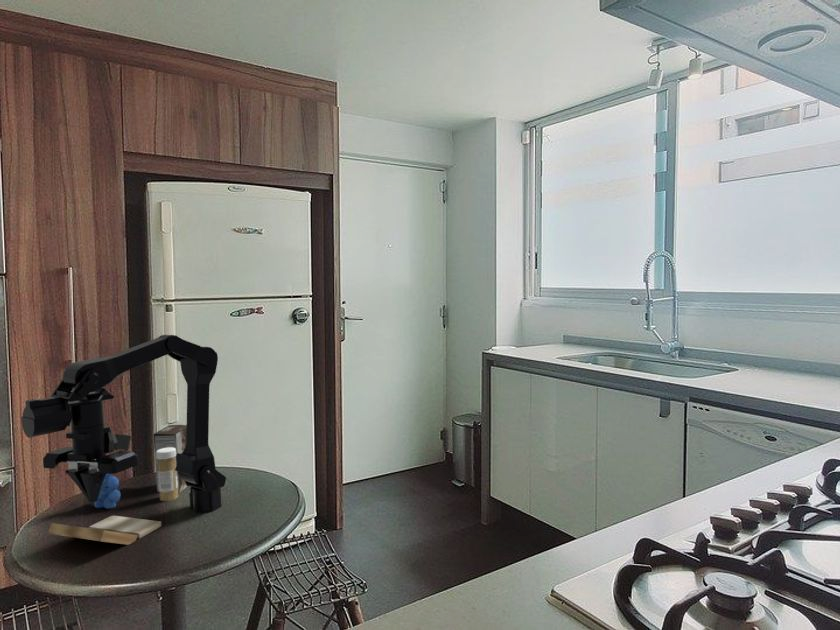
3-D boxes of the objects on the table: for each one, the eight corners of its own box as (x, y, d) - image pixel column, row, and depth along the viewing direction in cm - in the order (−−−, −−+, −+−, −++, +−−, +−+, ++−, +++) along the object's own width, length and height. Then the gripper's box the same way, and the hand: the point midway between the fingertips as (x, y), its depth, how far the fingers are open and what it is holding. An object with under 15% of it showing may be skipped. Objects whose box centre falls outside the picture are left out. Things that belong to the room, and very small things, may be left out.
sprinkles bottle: (182, 498, 139) (179, 446, 138) (171, 505, 134) (168, 452, 134) (166, 498, 140) (163, 446, 139) (155, 505, 135) (151, 451, 135)
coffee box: (172, 481, 152) (169, 424, 151) (195, 480, 152) (192, 424, 151) (155, 493, 143) (152, 433, 142) (179, 493, 143) (176, 432, 142)
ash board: (161, 530, 120) (161, 521, 120) (139, 542, 115) (139, 533, 114) (112, 524, 125) (112, 515, 125) (89, 535, 119) (89, 526, 119)
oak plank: (134, 545, 113) (137, 535, 114) (100, 541, 106) (104, 530, 106) (83, 538, 118) (87, 528, 118) (47, 533, 110) (51, 523, 111)
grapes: (68, 514, 131) (64, 465, 131) (93, 503, 138) (90, 457, 137) (104, 519, 127) (101, 469, 127) (128, 508, 134) (125, 460, 133)
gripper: (156, 417, 113) (161, 490, 113) (88, 413, 119) (93, 484, 119) (110, 431, 102) (116, 512, 103) (38, 426, 108) (44, 503, 109)
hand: (93, 501), depth 109 cm, fingers closed
